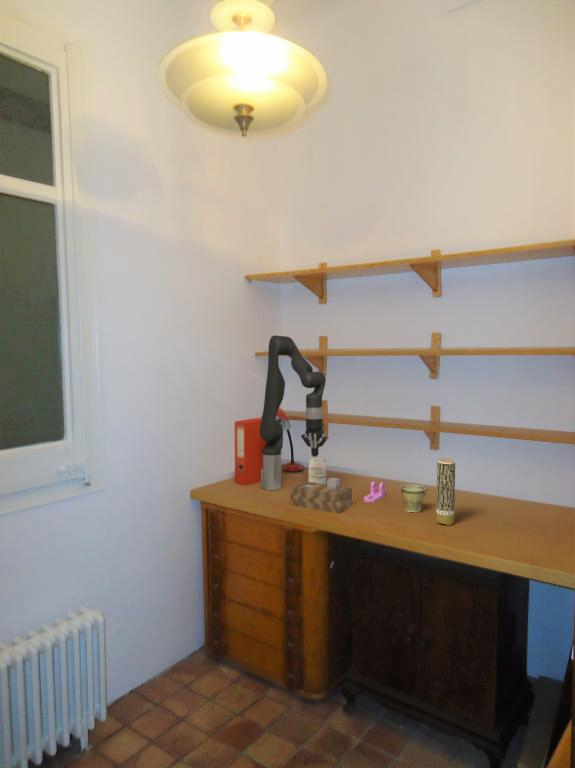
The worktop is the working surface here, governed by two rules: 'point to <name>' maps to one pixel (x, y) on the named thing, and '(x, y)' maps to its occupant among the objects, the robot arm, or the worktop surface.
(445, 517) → the paper tube
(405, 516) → the worktop surface
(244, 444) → the file binder
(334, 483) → the steel peg
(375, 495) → the bracket
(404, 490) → the ceramic cup
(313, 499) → the walnut block
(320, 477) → the ink cartridge box
